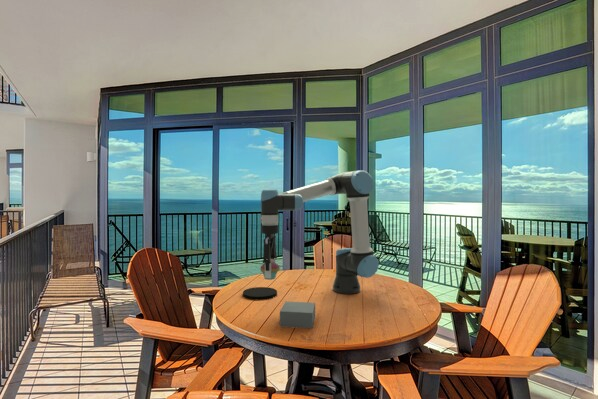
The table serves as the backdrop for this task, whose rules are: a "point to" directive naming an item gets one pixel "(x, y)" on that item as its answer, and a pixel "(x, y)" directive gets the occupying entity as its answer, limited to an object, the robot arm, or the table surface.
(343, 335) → the table surface
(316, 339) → the table surface
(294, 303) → the plinth
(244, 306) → the table surface
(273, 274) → the cupcake
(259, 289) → the wireless charger
